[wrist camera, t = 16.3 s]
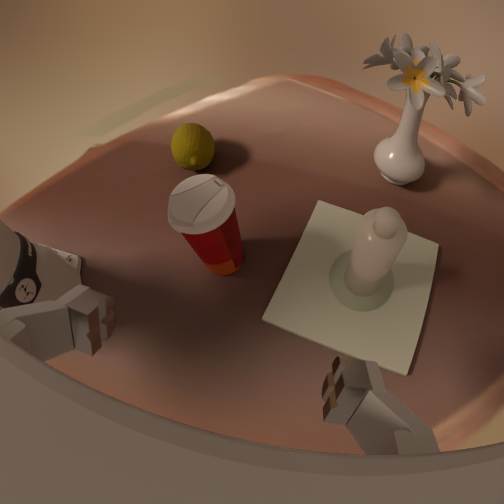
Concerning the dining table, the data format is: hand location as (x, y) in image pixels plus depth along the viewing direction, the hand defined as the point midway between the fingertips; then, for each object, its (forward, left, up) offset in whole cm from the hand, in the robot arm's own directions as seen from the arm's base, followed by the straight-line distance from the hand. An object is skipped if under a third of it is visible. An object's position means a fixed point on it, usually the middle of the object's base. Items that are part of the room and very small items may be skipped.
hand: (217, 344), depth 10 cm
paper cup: (-14, +13, -28) cm, 33 cm away
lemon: (-29, +29, -28) cm, 49 cm away
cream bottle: (+5, +17, -26) cm, 32 cm away
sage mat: (+5, +17, -27) cm, 33 cm away
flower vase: (+6, +40, -28) cm, 49 cm away
